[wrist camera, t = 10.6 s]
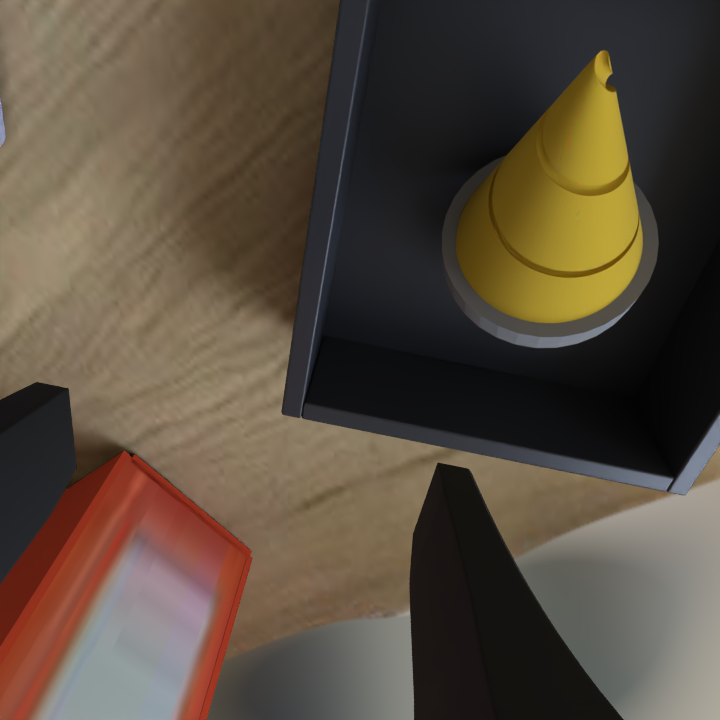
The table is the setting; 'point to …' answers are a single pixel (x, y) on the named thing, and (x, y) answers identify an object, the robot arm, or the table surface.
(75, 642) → the file binder
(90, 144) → the table surface
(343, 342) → the bin
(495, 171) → the yellow traffic cone
